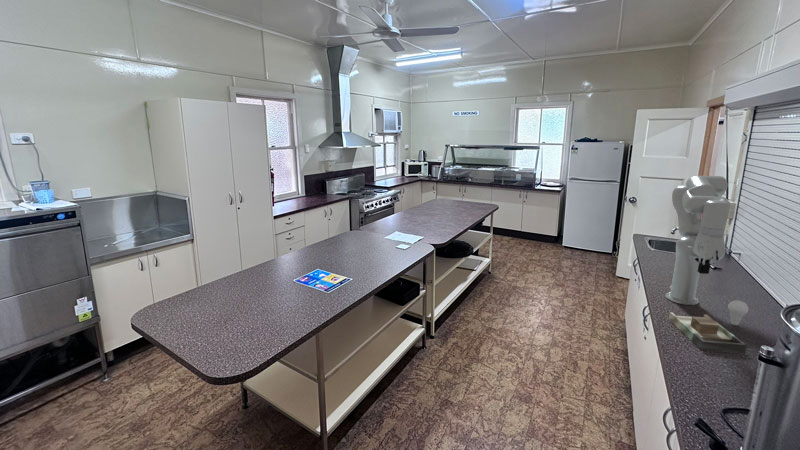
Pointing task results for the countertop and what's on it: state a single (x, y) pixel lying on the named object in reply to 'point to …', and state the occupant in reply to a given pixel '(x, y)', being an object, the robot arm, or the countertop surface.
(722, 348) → the trap lane
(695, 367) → the countertop surface
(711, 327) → the walnut block
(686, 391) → the countertop surface
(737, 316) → the lightbulb
